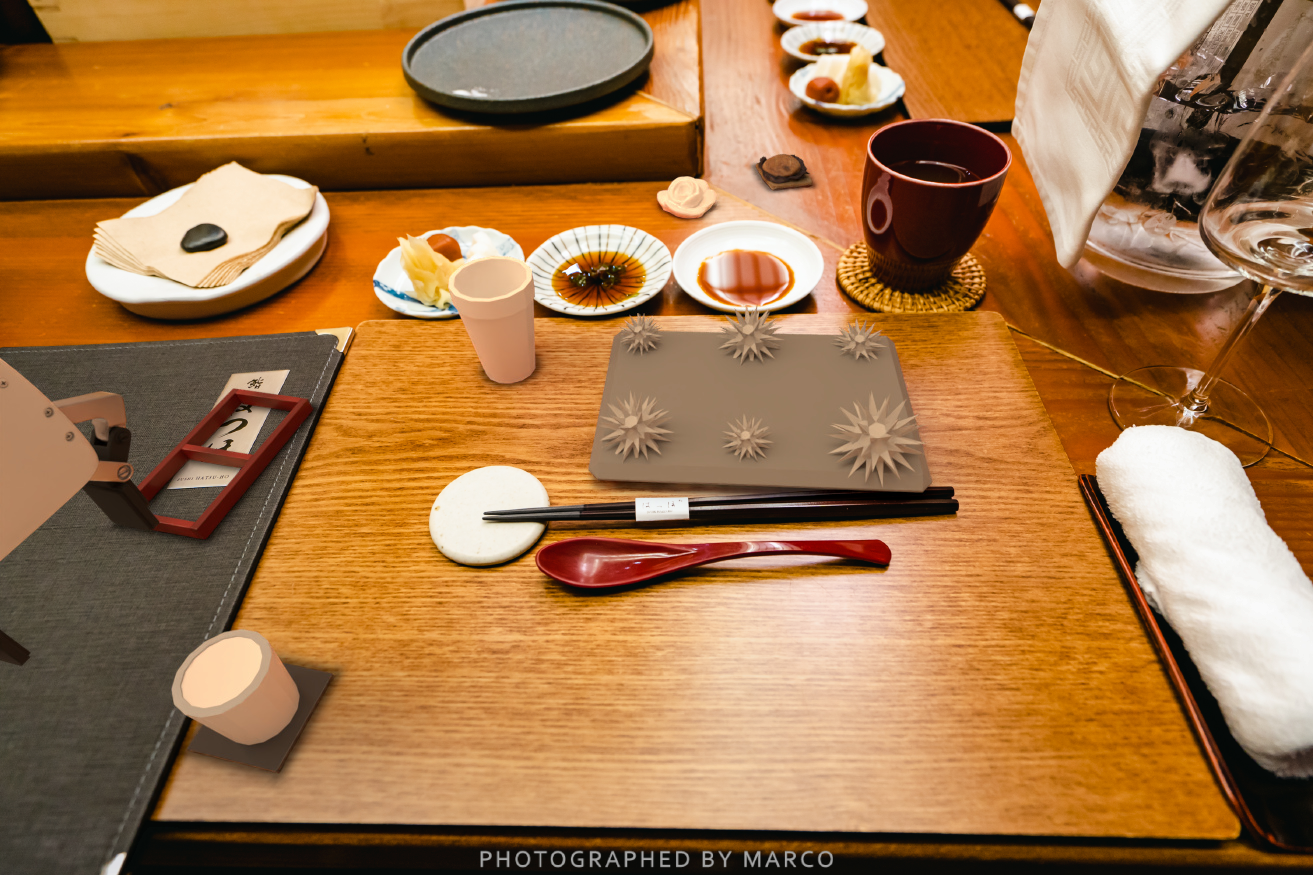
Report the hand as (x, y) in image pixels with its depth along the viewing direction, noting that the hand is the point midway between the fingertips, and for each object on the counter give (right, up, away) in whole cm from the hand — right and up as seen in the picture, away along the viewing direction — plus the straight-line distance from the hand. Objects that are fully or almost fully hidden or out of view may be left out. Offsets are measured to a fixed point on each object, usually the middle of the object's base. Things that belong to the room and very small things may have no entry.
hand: (77, 584), depth 42 cm
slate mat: (+3, -13, +14) cm, 20 cm away
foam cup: (+17, +18, +44) cm, 51 cm away
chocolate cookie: (+58, +56, +80) cm, 114 cm away
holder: (-13, +6, +34) cm, 37 cm away
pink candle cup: (+3, -13, +14) cm, 19 cm away
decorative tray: (+47, +11, +37) cm, 61 cm away
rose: (+41, +48, +73) cm, 97 cm away
